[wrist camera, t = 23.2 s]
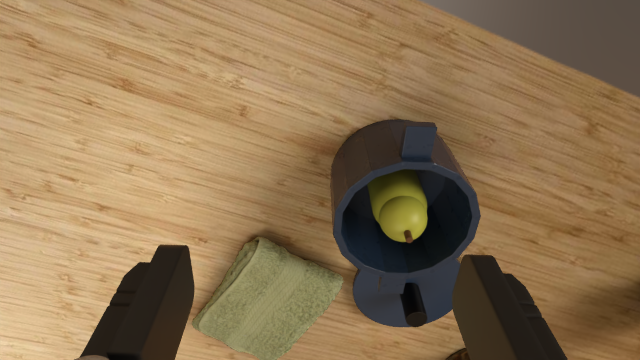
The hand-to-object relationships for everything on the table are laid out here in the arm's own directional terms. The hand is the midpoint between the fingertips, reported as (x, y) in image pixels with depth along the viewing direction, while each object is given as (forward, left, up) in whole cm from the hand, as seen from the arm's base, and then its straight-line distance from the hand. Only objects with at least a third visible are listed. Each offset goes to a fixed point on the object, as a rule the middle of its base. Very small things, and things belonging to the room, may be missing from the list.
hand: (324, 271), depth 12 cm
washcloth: (+5, +31, -28) cm, 42 cm away
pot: (-8, +13, -28) cm, 32 cm away
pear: (-8, +13, -28) cm, 32 cm away
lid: (-12, +28, -28) cm, 41 cm away
